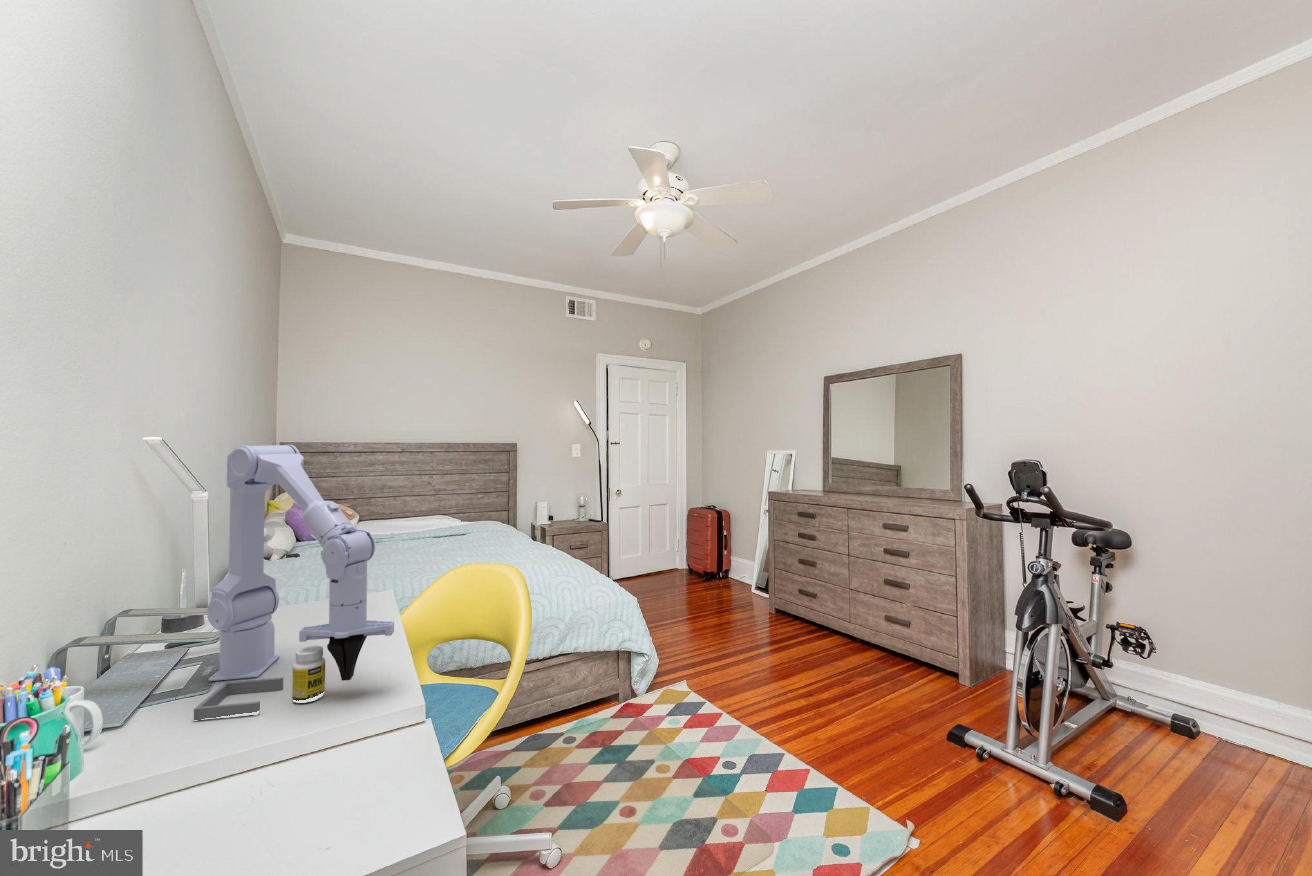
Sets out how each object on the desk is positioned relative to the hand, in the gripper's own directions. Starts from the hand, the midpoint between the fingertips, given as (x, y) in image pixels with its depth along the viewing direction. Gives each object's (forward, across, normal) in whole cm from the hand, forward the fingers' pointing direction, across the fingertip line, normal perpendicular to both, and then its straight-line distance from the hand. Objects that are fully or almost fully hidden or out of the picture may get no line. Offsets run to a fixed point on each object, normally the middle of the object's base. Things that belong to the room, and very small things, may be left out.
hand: (347, 677), depth 93 cm
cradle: (+3, -16, 0) cm, 16 cm away
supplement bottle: (+3, -6, 0) cm, 7 cm away
